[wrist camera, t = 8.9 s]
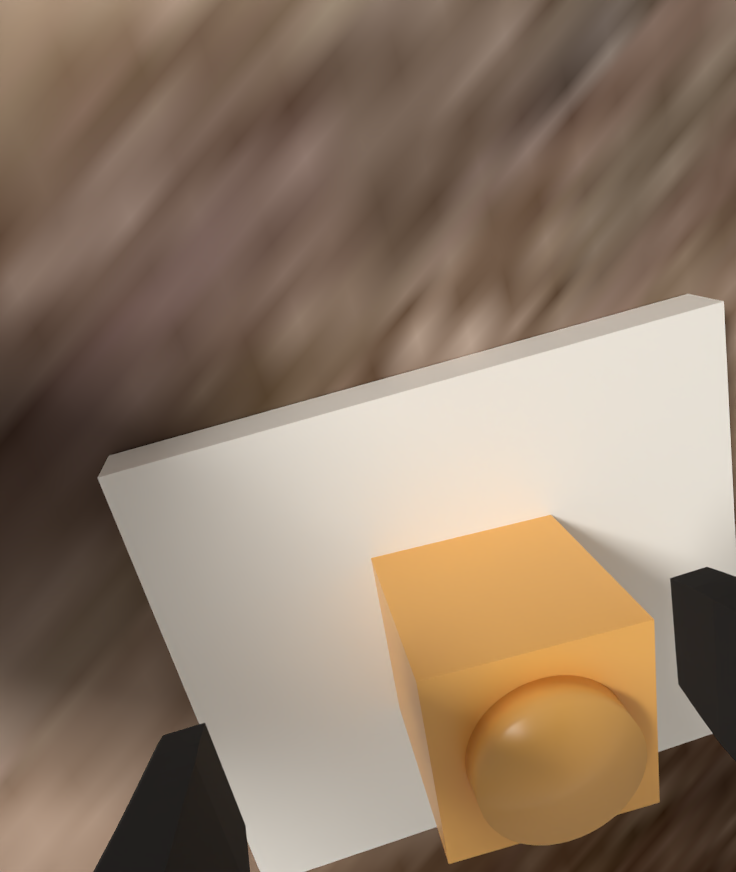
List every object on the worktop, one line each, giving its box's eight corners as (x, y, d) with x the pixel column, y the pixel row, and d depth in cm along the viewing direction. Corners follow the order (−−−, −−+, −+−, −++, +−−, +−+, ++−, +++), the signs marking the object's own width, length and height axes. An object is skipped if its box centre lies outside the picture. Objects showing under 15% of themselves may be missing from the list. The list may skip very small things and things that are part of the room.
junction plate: (263, 842, 23) (270, 1009, 18) (108, 455, 18) (61, 548, 13) (715, 692, 24) (830, 811, 19) (688, 293, 19) (834, 324, 14)
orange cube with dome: (399, 708, 20) (459, 898, 15) (371, 558, 18) (426, 710, 13) (563, 664, 20) (680, 832, 15) (550, 514, 19) (677, 643, 13)
